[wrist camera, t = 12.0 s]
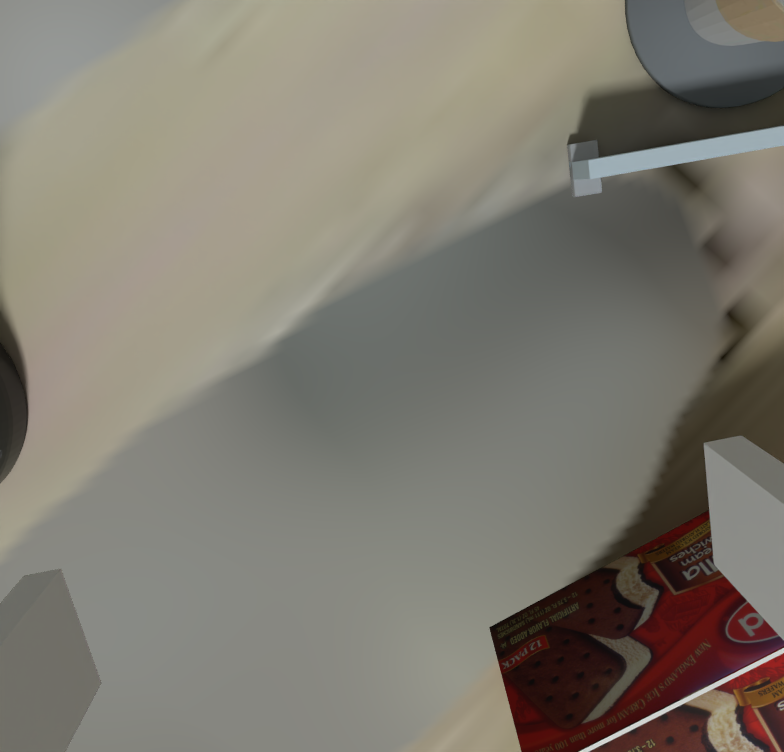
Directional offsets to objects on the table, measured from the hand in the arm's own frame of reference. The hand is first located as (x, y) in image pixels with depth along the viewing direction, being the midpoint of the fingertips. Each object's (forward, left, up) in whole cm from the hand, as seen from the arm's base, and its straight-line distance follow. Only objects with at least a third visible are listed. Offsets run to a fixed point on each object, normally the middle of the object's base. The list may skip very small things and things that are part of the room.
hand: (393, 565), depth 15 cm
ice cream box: (+14, -23, -32) cm, 41 cm away
